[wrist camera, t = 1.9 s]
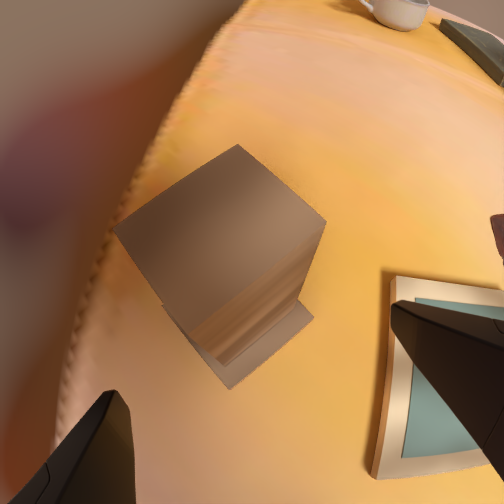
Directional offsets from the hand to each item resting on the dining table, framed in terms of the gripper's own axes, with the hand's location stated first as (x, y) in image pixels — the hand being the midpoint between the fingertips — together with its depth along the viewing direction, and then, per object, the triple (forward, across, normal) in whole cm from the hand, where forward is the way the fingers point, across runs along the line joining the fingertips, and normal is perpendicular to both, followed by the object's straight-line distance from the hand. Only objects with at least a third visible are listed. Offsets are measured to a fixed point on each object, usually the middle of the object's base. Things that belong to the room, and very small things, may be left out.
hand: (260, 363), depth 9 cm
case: (+33, -62, -16) cm, 72 cm away
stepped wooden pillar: (+11, 0, +5) cm, 12 cm away
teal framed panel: (+4, -13, +12) cm, 18 cm away
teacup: (+40, -39, -24) cm, 61 cm away
